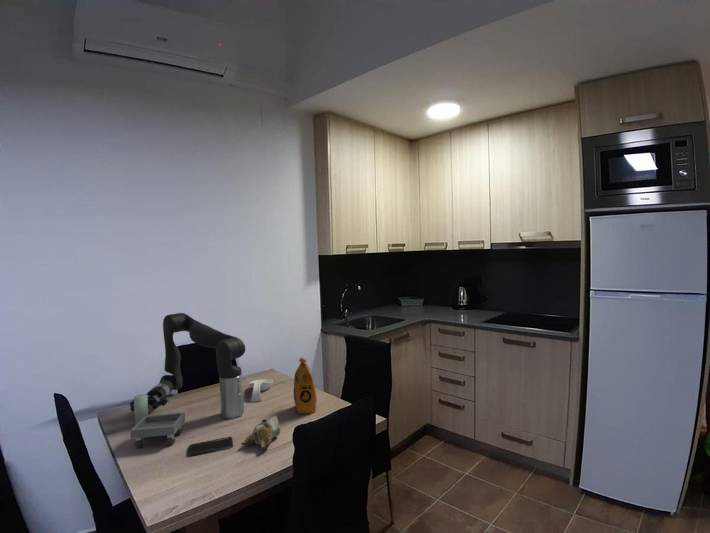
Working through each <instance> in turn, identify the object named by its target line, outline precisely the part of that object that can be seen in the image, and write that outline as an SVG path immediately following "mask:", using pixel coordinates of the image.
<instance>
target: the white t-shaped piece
mask: <svg viewBox="0 0 710 533" xmlns="http://www.w3.org/2000/svg"><path fill="white" fill-rule="evenodd" d="M273 382H274V381H273V379H270V378H262V379H261V378H260V379H256V380H252V381H250V382H249V386H250V387H251V388H252V393H251V403H255V402H256V403H257V402H262V394H261V392H264V391H266V390H268V389H269V388H270V387H271V386H272V385H273Z"/></svg>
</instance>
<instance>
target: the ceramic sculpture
mask: <svg viewBox="0 0 710 533" xmlns="http://www.w3.org/2000/svg"><path fill="white" fill-rule="evenodd" d="M280 433H281V427H280V423H279V419H278V418H277V415H274V416H272V417H269V419H262V420H261V421H260V423H259V424H257V425H256V426H255V427H254V428H253V430H252V432H251V433H249V435H247V436H246V438H245V439H244V441H243V442H241V443H240V445H241V446H249V445H252V444H254V443H255V444H257V445H259V447H260V450H265V449H266V448H268V447H270V445H271V443H272V441H273V438H277V437H279V435H280Z"/></svg>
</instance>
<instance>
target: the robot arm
mask: <svg viewBox="0 0 710 533" xmlns="http://www.w3.org/2000/svg"><path fill="white" fill-rule="evenodd" d="M162 331H163V332H162V333H163V343H164V349H165V351H164V352H165V356H164V357H165V358H164V371H165V372H166V373H168V374H164V375H163V376H161V378H160V381H159V382H158V384H157V385H154V386H153V388H151V389H150V390H149V391H148V392H147V393H146V394H147V395H148V406H152V410H153V411H154V410H156V409H158V408H159V407H161V406H166V405H167V404H168V402H169V400H170V399H169V398H170V397H169V395H170V394H171V393H172V391H179V390H180V389H181V388H182V386H183V383H184V381H183V375H182V372H181V371H182V370H181V357H182V356H181V352H180V349H179V348H178V346H177V345H176V343H175V341H174V333H180V332H187V333H188V334H189V338H190V340H191V341H192V342H193V343H195V344H197V345H199V346H200V347H201V346H202V347H204V348H212V349H215V356H216V367H217V368H216V369H217V371H218V376H219V397H220V398H219V400H220V417H221V418H223V419H235V418H238V417H242V416H243V414H244V413H245V412H244V411H245V401H244V389H243V384H242V383H243V379H242V376H243V375H242V368H241V367H240V366H237V365H233V364H232V363H233V362H232V361H233V360H236V359H239V358H241V357H242V356H243V355H245V353H246V345H245V343H244V342H243V340H242V339H240V338H239V337H236V336H233V335H230V334H227V333H224V332H221V331H219V330H218V329H215V328H213V327H211V326H209V325H207V324H204V323H202V322H200V321H198V320H196V319H194V318H193V317H191V316H190V315H188V314H187V313H185V312H177V313H171V314H167V315H165V316H164V317H163V320H162ZM129 404H130V408H129V409H130V412H134V399H133V400H131V401H130V402H129Z"/></svg>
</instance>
